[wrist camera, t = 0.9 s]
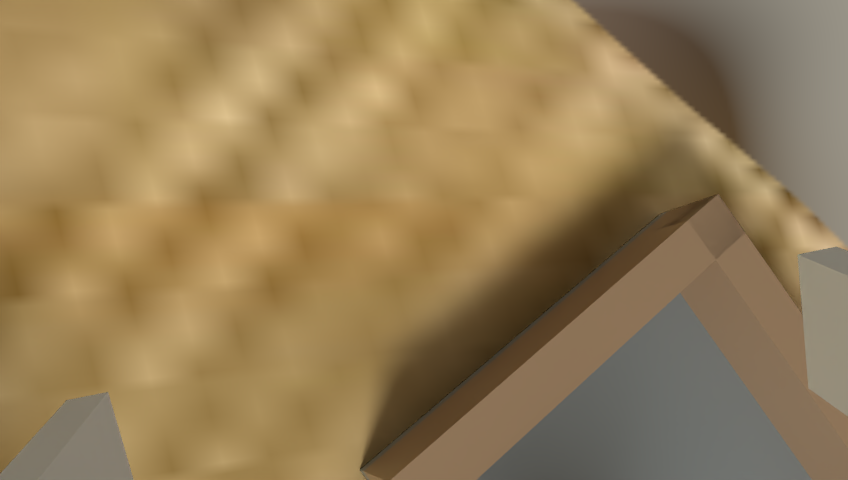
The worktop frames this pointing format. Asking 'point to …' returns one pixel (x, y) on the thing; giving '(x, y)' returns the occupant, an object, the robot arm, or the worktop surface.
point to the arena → (643, 377)
